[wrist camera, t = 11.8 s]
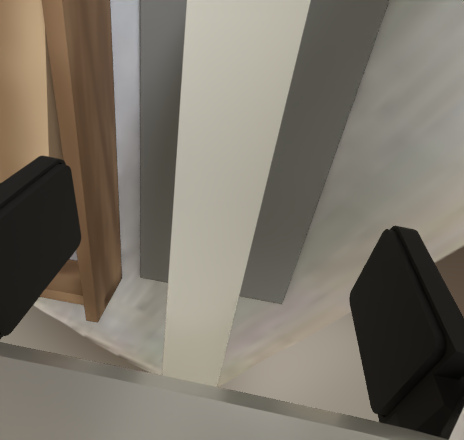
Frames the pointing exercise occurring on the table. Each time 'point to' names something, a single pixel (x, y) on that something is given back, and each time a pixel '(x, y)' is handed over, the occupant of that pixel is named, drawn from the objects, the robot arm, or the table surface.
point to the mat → (288, 142)
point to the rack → (87, 147)
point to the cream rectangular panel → (223, 167)
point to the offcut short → (25, 88)
